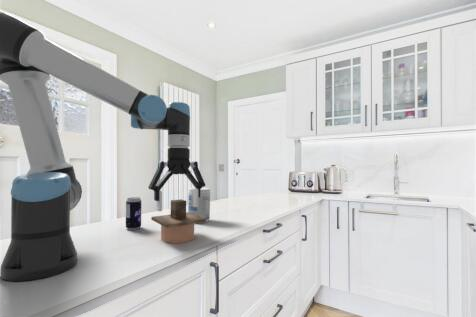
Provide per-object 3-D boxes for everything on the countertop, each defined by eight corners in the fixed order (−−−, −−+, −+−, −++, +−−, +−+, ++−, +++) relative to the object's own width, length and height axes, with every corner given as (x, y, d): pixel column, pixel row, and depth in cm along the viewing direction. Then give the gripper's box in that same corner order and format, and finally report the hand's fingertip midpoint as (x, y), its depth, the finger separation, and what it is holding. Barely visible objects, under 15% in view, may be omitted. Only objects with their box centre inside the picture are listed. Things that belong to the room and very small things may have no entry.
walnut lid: (166, 227, 81) (166, 205, 81) (151, 219, 92) (151, 199, 92) (205, 221, 89) (206, 201, 89) (187, 214, 100) (187, 196, 101)
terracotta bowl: (169, 244, 83) (169, 226, 83) (156, 236, 92) (157, 219, 92) (199, 238, 90) (199, 221, 90) (185, 231, 98) (185, 216, 99)
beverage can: (135, 230, 100) (136, 199, 100) (122, 229, 101) (122, 198, 101) (143, 227, 105) (144, 197, 105) (131, 226, 106) (131, 196, 106)
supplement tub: (183, 222, 114) (183, 188, 114) (196, 218, 122) (196, 186, 123) (201, 224, 110) (202, 189, 110) (214, 220, 118) (214, 187, 118)
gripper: (146, 145, 81) (145, 214, 80) (214, 148, 96) (214, 206, 95) (139, 146, 87) (138, 210, 86) (204, 149, 102) (204, 203, 101)
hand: (178, 208), depth 91 cm, fingers open, 13 cm apart
